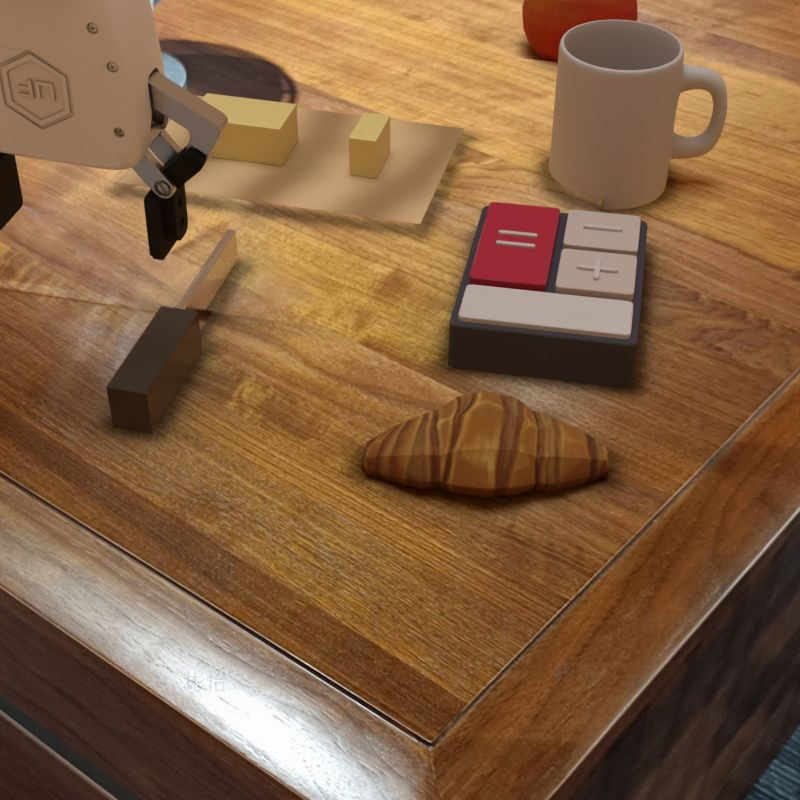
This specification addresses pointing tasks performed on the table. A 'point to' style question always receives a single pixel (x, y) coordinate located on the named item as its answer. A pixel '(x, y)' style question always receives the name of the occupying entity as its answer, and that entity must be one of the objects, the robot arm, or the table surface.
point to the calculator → (551, 295)
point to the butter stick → (255, 129)
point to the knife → (168, 348)
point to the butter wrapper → (332, 170)
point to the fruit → (567, 20)
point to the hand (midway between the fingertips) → (85, 232)
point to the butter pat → (369, 145)
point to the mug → (625, 111)
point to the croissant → (486, 450)
